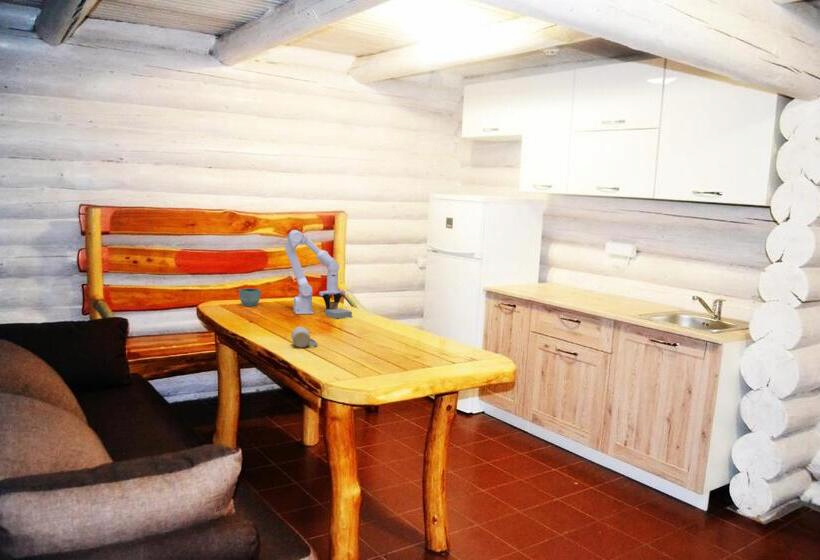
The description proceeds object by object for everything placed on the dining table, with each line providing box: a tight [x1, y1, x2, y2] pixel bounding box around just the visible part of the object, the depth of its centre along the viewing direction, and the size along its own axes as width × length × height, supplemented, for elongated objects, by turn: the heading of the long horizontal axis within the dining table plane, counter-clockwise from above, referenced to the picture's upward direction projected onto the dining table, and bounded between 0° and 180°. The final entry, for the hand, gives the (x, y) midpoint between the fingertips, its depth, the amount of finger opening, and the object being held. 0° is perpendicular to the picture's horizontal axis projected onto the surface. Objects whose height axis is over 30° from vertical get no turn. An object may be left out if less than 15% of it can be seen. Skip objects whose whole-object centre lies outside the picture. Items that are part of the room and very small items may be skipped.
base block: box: [324, 308, 353, 320], centre depth 355 cm, size 10×10×3 cm
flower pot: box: [238, 287, 262, 308], centre depth 376 cm, size 9×9×9 cm
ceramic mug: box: [291, 326, 318, 349], centre depth 288 cm, size 11×8×8 cm
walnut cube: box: [325, 301, 339, 310], centre depth 366 cm, size 4×4×4 cm
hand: (331, 307), depth 366 cm, fingers closed on walnut cube, 4 cm apart
